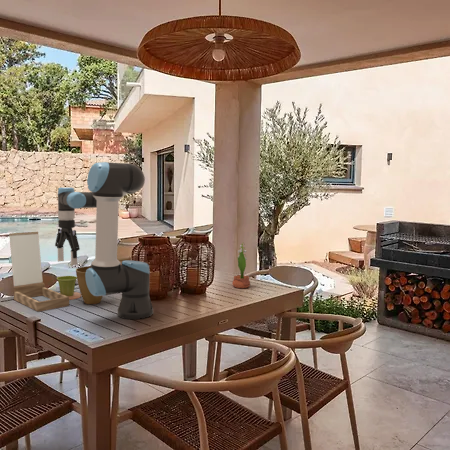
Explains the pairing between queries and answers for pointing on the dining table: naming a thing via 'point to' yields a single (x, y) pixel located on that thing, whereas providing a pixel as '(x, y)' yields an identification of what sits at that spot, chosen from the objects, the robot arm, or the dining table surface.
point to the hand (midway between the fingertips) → (67, 262)
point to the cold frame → (28, 291)
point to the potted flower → (241, 271)
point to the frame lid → (25, 258)
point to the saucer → (75, 296)
